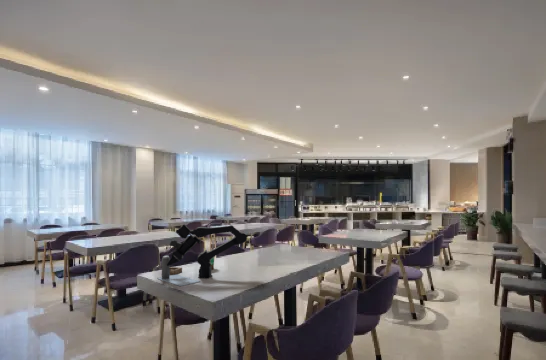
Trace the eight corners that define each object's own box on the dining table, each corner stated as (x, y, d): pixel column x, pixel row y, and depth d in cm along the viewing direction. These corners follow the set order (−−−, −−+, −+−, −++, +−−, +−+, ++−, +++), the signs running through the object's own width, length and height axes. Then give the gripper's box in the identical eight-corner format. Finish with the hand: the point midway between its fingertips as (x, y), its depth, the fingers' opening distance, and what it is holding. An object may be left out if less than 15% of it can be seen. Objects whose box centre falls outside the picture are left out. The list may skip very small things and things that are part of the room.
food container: (211, 271, 201) (211, 255, 202) (202, 270, 202) (202, 255, 203) (218, 267, 213) (218, 252, 214) (209, 266, 214) (209, 252, 215)
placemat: (200, 281, 174) (200, 281, 174) (180, 286, 165) (180, 285, 165) (176, 275, 190) (177, 274, 190) (157, 278, 181) (157, 278, 181)
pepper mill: (168, 277, 184) (169, 255, 184) (170, 278, 180) (170, 256, 181) (161, 277, 182) (161, 255, 183) (162, 279, 178) (162, 257, 179)
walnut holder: (181, 271, 200) (182, 267, 200) (175, 274, 192) (175, 270, 192) (169, 270, 201) (170, 267, 202) (162, 273, 193) (163, 269, 193)
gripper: (179, 233, 193) (160, 252, 190) (176, 236, 175) (155, 257, 172) (192, 245, 194) (174, 264, 191) (190, 250, 176) (170, 271, 173)
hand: (168, 264), depth 182 cm, fingers open, 9 cm apart
